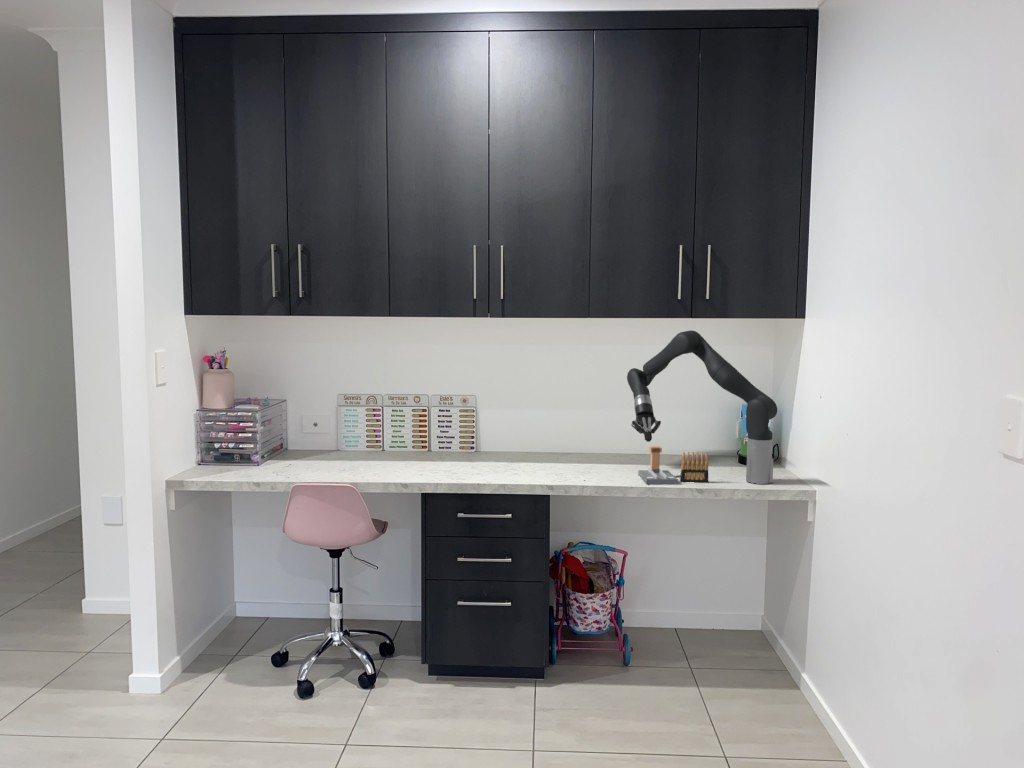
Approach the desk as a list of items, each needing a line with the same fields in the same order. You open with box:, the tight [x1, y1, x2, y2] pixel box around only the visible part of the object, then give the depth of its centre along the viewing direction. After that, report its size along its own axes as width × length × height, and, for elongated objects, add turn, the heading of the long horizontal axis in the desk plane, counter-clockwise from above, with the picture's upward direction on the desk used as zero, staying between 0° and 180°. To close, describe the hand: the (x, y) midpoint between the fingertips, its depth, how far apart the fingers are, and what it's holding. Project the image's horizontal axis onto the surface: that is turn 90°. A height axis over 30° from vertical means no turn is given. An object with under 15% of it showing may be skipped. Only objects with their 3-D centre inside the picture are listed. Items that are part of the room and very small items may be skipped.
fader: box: [648, 446, 663, 472], centre depth 319 cm, size 4×3×10 cm
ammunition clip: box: [679, 451, 709, 484], centre depth 311 cm, size 11×2×12 cm, turn 86°
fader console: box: [638, 467, 679, 485], centre depth 315 cm, size 12×16×3 cm
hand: (648, 440), depth 332 cm, fingers closed
